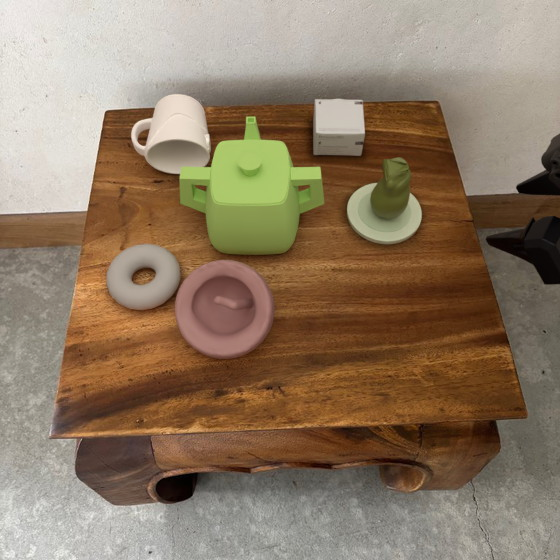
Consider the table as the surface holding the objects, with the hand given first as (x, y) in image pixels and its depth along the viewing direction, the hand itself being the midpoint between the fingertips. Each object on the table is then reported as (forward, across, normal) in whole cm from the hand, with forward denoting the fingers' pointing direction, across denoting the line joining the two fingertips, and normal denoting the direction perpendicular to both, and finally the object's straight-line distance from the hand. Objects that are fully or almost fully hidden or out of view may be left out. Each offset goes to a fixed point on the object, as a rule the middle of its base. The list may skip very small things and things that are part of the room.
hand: (502, 214), depth 64 cm
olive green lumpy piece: (+20, -3, -1) cm, 20 cm away
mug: (+44, +5, -25) cm, 51 cm away
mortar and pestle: (+26, +25, -6) cm, 37 cm away
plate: (+20, -3, -1) cm, 20 cm away
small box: (+30, -12, -10) cm, 34 cm away
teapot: (+32, +7, -12) cm, 35 cm away
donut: (+36, +26, -16) cm, 47 cm away
